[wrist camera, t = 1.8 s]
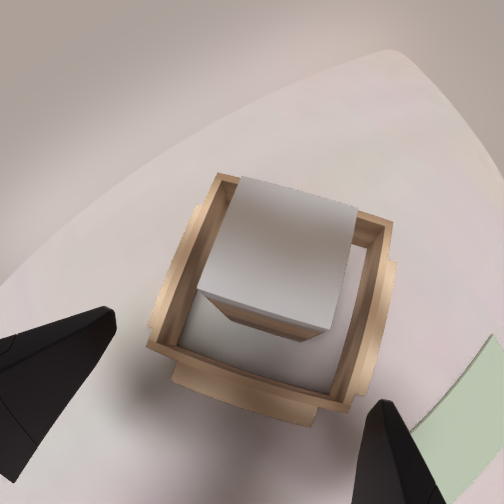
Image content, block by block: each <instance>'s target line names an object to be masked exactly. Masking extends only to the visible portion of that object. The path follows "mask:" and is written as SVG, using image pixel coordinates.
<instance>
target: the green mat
mask: <svg viewBox="0 0 504 504" xmlns="http://www.w3.org/2000/svg"><path fill="white" fill-rule="evenodd" d="M410 434H411V436H412V438H413V439H414V441H415V443H416V445H417V447H418V449H419V451H420V453H421V455H422V456H423V458H424V460H425V462H426V464H427V466H428V468H429V470H430V472H431V474H432V476H433V478H434V480H435V482H436V485H437V486H438V488H439V490H440V492H441V494H442V496H443V498H444V499H445V501H446V503H447V504H452V503H453V502H454V501H455V500H456V499H457V498H458V497H459V496H460V495H461V494H462V493H463V492H464V491H465V490H466V489H467V488H468V487H469V486H470V485H471V484H472V483H473V482H474V480H475V479H476V478H477V477H478V476H479V475H480V474H481V473H482V472H483V470H484V469H485V468H486V467H487V466H488V464H489V463H490V462H491V461H492V460H493V458H494V457H495V456H496V455H497V453H498V452H499V451H500V449H501V448H502V447H503V446H504V351H503V349H502V347H501V346H500V344H499V342H498V340H497V339H496V337H495V335H494V334H492V335H490V337H489V338H488V340H487V341H486V343H485V344H484V346H483V347H482V349H481V350H480V352H479V353H478V354H477V356H476V357H475V358H474V360H473V361H472V362H471V364H470V365H469V366H468V368H467V369H466V370H465V372H464V373H463V374H462V375H461V377H460V378H459V379H458V380H457V382H456V383H455V384H454V385H453V386H452V388H451V389H450V390H449V391H448V392H447V394H446V395H445V396H444V397H443V398H442V399H441V400H440V401H439V403H438V404H437V405H436V406H435V407H434V408H433V409H432V410H431V411H430V412H429V413H428V414H427V415H426V416H425V417H424V418H423V420H422V421H421V422H420V423H419V424H418V425H417V426H416V427H414V428H413V429H412V430H411V431H410Z"/></svg>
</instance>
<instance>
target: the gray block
mask: <svg viewBox="0 0 504 504" xmlns="http://www.w3.org/2000/svg"><path fill="white" fill-rule="evenodd" d="M357 213H358V208H357V207H353V206H350V205H347V204H344V203H340V202H337V201H334V200H330V199H327V198H323V197H320V196H316V195H313V194H309V193H306V192H302V191H299V190H295V189H291V188H287V187H284V186H280V185H276V184H272V183H268V182H264V181H260V180H256V179H252V178H248V177H244V176H241V179H240V181H239V183H238V186H237V188H236V190H235V193H234V195H233V198H232V200H231V202H230V205H229V207H228V210H227V212H226V215H225V217H224V219H223V222H222V224H221V227H220V229H219V232H218V234H217V237H216V239H215V242H214V244H213V247H212V249H211V252H210V255H209V257H208V260H207V262H206V265H205V267H204V270H203V272H202V275H201V278H200V280H199V283H198V286H197V289H198V290H199V291H200V292H201V293H202V294H203V295H204V296H205V297H206V298H207V299H208V300H209V301H211V302H212V303H213V304H214V305H215V306H216V307H217V308H218V309H219V310H220V311H221V312H222V313H223V314H224V315H225V316H226V317H228V318H229V319H230V320H231V321H234V322H237V323H240V324H243V325H246V326H249V327H252V328H255V329H258V330H262V331H265V332H268V333H271V334H274V335H278V336H281V337H284V338H287V339H291V340H294V341H298V342H303V341H305V340H307V339H310V338H312V337H315V336H317V335H319V334H321V333H324V332H326V331H328V330H330V327H331V324H332V320H333V317H334V313H335V309H336V305H337V302H338V298H339V294H340V290H341V286H342V282H343V278H344V274H345V269H346V265H347V261H348V256H349V252H350V247H351V243H352V238H353V233H354V228H355V223H356V218H357Z"/></svg>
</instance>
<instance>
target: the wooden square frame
mask: <svg viewBox="0 0 504 504" xmlns="http://www.w3.org/2000/svg"><path fill="white" fill-rule="evenodd" d="M240 179H241V178H239V177H234V176H230V175H226V174H221V173H217V175H216V177H215V179H214V181H213V183H212V186H211V188H210V190H209V192H208V194H207V196H206V199H205V201H204V203H203V205H202V206H201V205H196V207H195V209H194V212H193V214H192V216H191V218H190V221H189V223H188V225H187V227H186V230H185V232H184V234H183V237H182V239H181V241H180V244H179V246H178V248H177V251H176V253H175V255H174V258H173V260H172V263H171V265H170V268H169V270H168V272H167V275H166V277H165V280H164V282H163V285H162V288H161V290H160V293H159V295H158V298H157V300H156V303H155V306H154V308H153V311H152V314H151V316H150V319H149V322H148V324H147V326H148V327H150V328H153V329H152V331H151V334H150V337H149V340H148V343H147V345H146V347H147V348H149V349H151V350H154V351H156V352H158V353H160V354H163V355H165V356H167V357H170V358H172V359H174V360H177V363H176V366H175V368H174V371H173V374H172V377H171V380H170V381H172V382H174V383H177V384H179V385H182V386H184V387H186V388H189V389H191V390H194V391H196V392H199V393H201V394H204V395H207V396H209V397H212V398H215V399H217V400H220V401H223V402H226V403H228V404H231V405H234V406H237V407H240V408H243V409H246V410H249V411H253V412H256V413H259V414H262V415H266V416H269V417H272V418H276V419H280V420H283V421H287V422H291V423H295V424H298V425H302V426H307V427H311V425H312V422H313V420H314V417H315V414H316V412H317V409H318V407H321V408H325V409H329V410H334V411H338V412H343V413H348V412H349V409H350V407H351V404H352V401H353V398H354V395H355V394H357V395H362V396H366V393H367V389H368V386H369V383H370V380H371V376H372V373H373V370H374V366H375V363H376V359H377V355H378V351H379V348H380V344H381V340H382V336H383V332H384V327H385V323H386V319H387V314H388V309H389V305H390V300H391V295H392V289H393V284H394V278H395V272H396V266H397V262H394V261H391V260H388V254H389V248H390V241H391V234H392V227H393V222H392V221H389V220H386V219H383V218H380V217H377V216H374V215H371V214H368V213H365V212H362V211H358V213H357V218H356V223H355V228H354V233H353V238H352V244H355V245H358V246H361V247H365V248H367V253H366V258H365V263H364V268H363V273H362V277H361V282H360V286H359V291H358V295H357V299H356V303H355V307H354V311H353V315H352V319H351V323H350V327H349V331H348V334H347V338H346V341H345V345H344V348H343V352H342V355H341V359H340V362H339V365H338V368H337V372H336V375H335V378H334V381H333V384H332V387H331V390H330V393H329V395H327V394H323V393H319V392H315V391H311V390H307V389H303V388H300V387H296V386H292V385H289V384H285V383H282V382H279V381H275V380H272V379H269V378H265V377H262V376H259V375H256V374H253V373H250V372H247V371H244V370H241V369H238V368H235V367H232V366H229V365H226V364H223V363H220V362H218V361H215V360H212V359H209V358H207V357H204V356H201V355H199V354H196V353H194V352H191V351H189V350H186V349H184V348H181V347H179V346H177V343H178V340H179V337H180V334H181V332H182V329H183V326H184V323H185V321H186V318H187V315H188V313H189V310H190V307H191V304H192V302H193V299H194V296H195V294H196V291H197V286H198V283H199V280H200V278H201V275H202V272H203V270H204V267H205V265H206V262H207V260H208V257H209V255H210V252H211V249H212V247H213V244H214V242H215V239H216V237H217V234H218V232H219V229H220V227H221V224H222V222H223V219H224V217H225V215H226V212H227V210H228V207H229V205H230V202H231V200H232V198H233V195H234V193H235V190H236V188H237V186H238V183H239V181H240Z"/></svg>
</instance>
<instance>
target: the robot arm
mask: <svg viewBox="0 0 504 504" xmlns="http://www.w3.org/2000/svg"><path fill="white" fill-rule="evenodd" d="M116 330H117V326H116V318H115V312H114V310H112V309H110V308H108V307H106V306H101V307H98V308H95V309H92V310H89V311H86V312H83V313H80V314H77V315H74V316H71V317H68V318H64V319H61V320H58V321H55V322H52V323H49V324H46V325H43V326H40V327H37V328H34V329H31V330H27V331H24V332H21V333H18V334H15V335H12V336H9V337H5V338H2V339H0V474H1V475H3V476H4V477H5V478H7V479H8V480H9V481H11V482H12V483H15V482H16V480H17V479H18V477H19V475H20V474H21V472H22V471H23V469H24V468H25V466H26V464H27V463H28V461H29V460H30V458H31V457H32V455H33V454H34V452H35V451H36V449H37V448H38V446H39V445H40V443H41V442H42V440H43V439H44V437H45V436H46V434H47V433H48V431H49V430H50V428H51V427H52V426H53V424H54V423H55V421H56V420H57V418H58V417H59V416H60V414H61V413H62V411H63V410H64V409H65V407H66V406H67V404H68V403H69V402H70V400H71V399H72V397H73V396H74V395H75V393H76V392H77V391H78V389H79V388H80V387H81V385H82V384H83V382H84V381H85V380H86V378H87V377H88V376H89V374H90V373H91V372H92V370H93V369H94V368H95V366H96V365H97V363H98V362H99V360H100V358H101V356H102V355H103V353H104V351H105V350H106V348H107V346H108V345H109V343H110V342H111V340H112V338H113V337H114V335H115V333H116ZM351 504H447V503H446V501H445V499H444V498H443V496H442V494H441V492H440V490H439V488H438V486H437V485H436V482H435V480H434V478H433V476H432V474H431V472H430V470H429V468H428V466H427V464H426V462H425V460H424V458H423V456H422V455H421V453H420V451H419V449H418V447H417V445H416V443H415V441H414V439H413V438H412V436H411V434H410V432H409V430H408V428H407V427H406V425H405V423H404V421H403V419H402V417H401V416H400V414H399V412H398V410H397V408H396V407H395V405H394V403H393V402H392V401H390V400H385V399H381V400H379V401H378V402H377V403H376V404H375V406H374V407H373V408H372V409H371V411H370V412H369V413H368V415H367V418H366V422H365V427H364V432H363V437H362V442H361V446H360V451H359V455H358V461H357V468H356V476H355V483H354V490H353V496H352V502H351Z"/></svg>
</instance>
